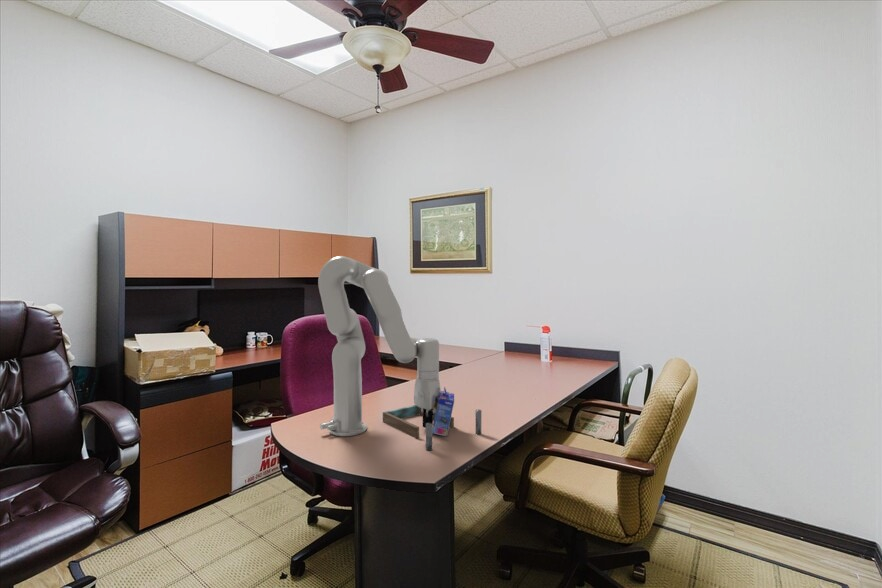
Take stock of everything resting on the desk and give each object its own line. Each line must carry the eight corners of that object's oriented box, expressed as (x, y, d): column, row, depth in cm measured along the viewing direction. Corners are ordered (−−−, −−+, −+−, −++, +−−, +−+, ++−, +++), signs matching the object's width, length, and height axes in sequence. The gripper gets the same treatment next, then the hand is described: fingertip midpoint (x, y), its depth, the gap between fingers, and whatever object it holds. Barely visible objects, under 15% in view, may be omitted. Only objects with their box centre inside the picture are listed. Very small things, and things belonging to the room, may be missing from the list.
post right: (478, 435, 140) (478, 411, 140) (474, 433, 141) (474, 410, 141) (482, 434, 141) (482, 410, 141) (478, 432, 143) (478, 409, 143)
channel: (416, 438, 137) (416, 427, 137) (382, 421, 154) (382, 412, 154) (453, 427, 148) (453, 417, 148) (418, 413, 164) (418, 404, 164)
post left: (428, 451, 127) (428, 425, 126) (424, 449, 128) (424, 423, 128) (433, 449, 128) (433, 423, 128) (429, 447, 130) (429, 422, 129)
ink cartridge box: (431, 423, 148) (441, 383, 148) (447, 426, 148) (456, 387, 148) (430, 433, 138) (440, 390, 138) (447, 437, 138) (457, 394, 138)
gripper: (406, 372, 148) (406, 423, 149) (433, 380, 137) (432, 435, 137) (423, 369, 153) (423, 419, 154) (450, 376, 142) (449, 430, 142)
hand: (427, 426), depth 146 cm, fingers closed
